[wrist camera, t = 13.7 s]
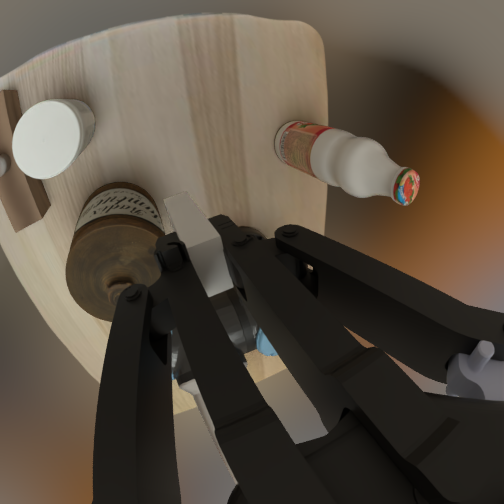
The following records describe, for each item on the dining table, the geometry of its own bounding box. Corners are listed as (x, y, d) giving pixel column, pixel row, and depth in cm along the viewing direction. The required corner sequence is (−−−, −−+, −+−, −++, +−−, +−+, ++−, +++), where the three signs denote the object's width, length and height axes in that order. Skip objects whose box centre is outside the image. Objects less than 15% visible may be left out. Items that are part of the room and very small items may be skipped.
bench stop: (17, 90, 23) (-9, 89, 16) (50, 205, 36) (35, 229, 29) (-9, 107, 22) (-38, 112, 14) (26, 218, 35) (7, 244, 27)
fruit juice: (263, 142, 48) (379, 190, 27) (295, 110, 47) (419, 138, 26) (291, 173, 54) (398, 235, 33) (319, 143, 53) (433, 187, 32)
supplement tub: (36, 118, 28) (-1, 127, 17) (85, 88, 30) (64, 81, 19) (57, 167, 34) (29, 195, 23) (104, 139, 36) (93, 154, 25)
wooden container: (161, 180, 44) (188, 238, 27) (157, 255, 51) (182, 339, 34) (79, 182, 37) (46, 244, 20) (84, 259, 44) (74, 348, 27)
